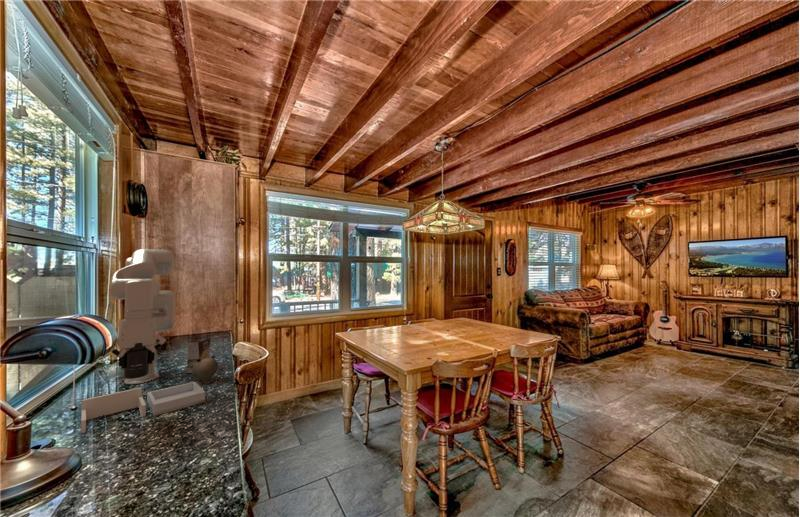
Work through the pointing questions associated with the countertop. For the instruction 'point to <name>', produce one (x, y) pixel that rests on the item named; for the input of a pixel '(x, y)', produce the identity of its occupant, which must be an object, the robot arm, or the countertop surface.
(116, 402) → the bay
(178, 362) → the countertop surface
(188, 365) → the coffee box
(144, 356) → the black boxy piece
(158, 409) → the tray
